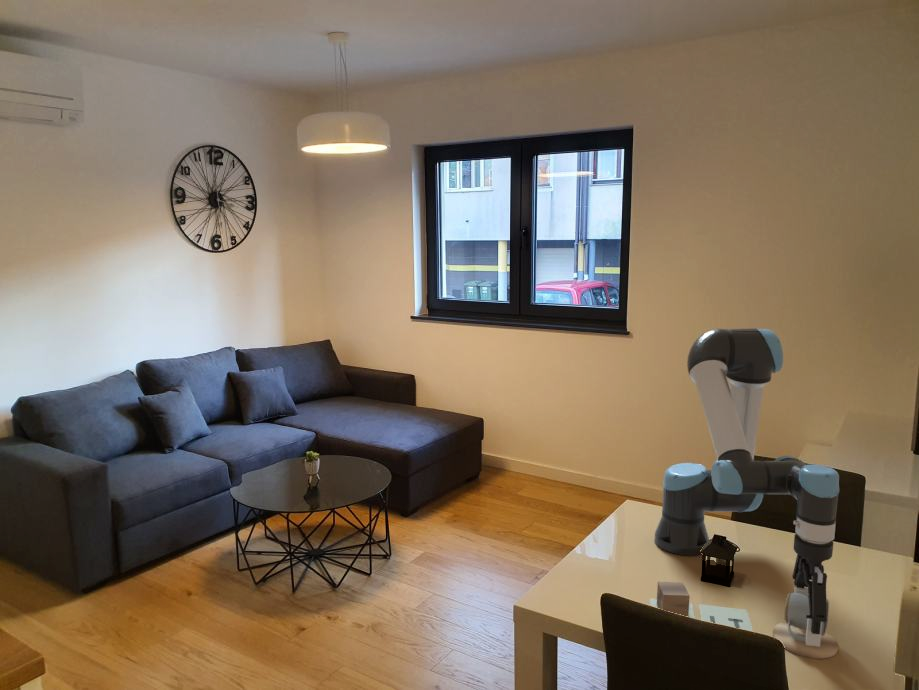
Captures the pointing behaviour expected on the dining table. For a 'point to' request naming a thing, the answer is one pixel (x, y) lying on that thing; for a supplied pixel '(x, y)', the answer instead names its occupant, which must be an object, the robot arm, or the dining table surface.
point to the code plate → (726, 616)
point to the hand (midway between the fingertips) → (805, 629)
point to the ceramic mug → (800, 614)
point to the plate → (691, 613)
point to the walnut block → (673, 597)
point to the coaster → (800, 648)
